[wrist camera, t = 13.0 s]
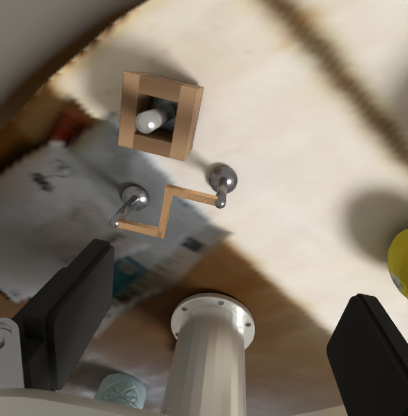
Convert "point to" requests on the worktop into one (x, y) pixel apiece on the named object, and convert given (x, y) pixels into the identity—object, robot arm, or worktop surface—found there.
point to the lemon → (399, 261)
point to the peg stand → (158, 116)
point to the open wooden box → (142, 101)
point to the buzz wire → (138, 198)
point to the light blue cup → (122, 390)
